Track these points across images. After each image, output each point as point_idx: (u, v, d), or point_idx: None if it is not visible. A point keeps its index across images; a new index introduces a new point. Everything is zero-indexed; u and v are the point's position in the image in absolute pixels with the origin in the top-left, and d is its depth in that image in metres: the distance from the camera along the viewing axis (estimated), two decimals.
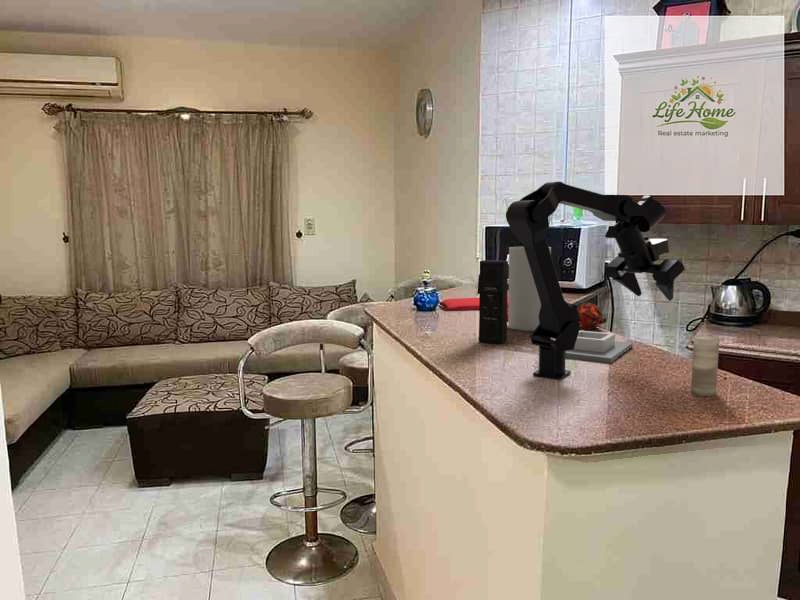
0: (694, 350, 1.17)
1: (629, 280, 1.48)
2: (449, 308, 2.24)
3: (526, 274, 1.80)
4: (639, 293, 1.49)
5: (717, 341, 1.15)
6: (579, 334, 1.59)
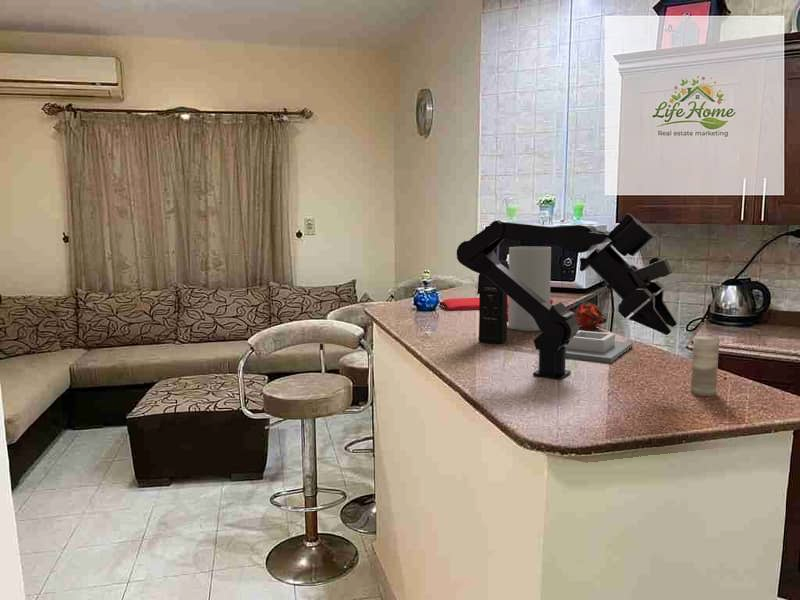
0: (694, 350, 1.17)
1: None
2: (449, 308, 2.24)
3: (526, 274, 1.80)
4: (672, 323, 1.24)
5: (717, 341, 1.15)
6: (579, 334, 1.59)
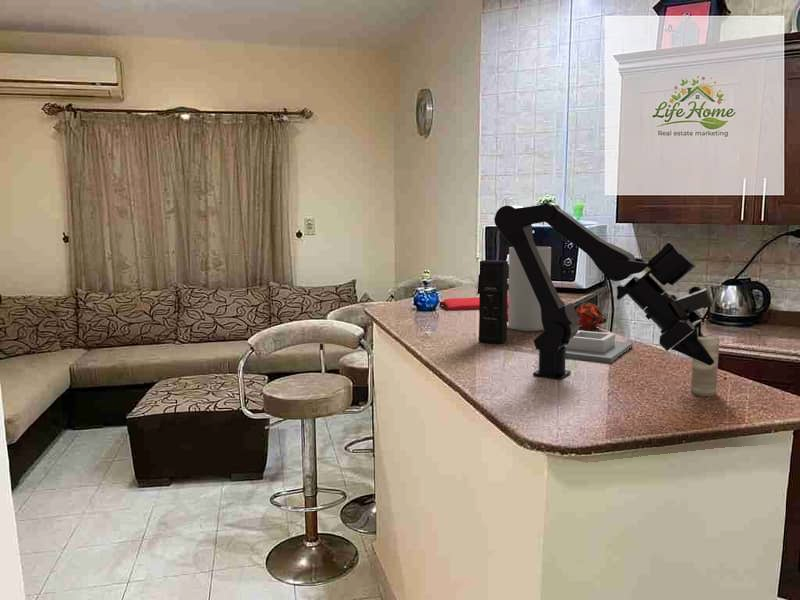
0: None
1: None
2: (449, 308, 2.25)
3: None
4: None
5: (717, 341, 1.15)
6: (579, 334, 1.59)
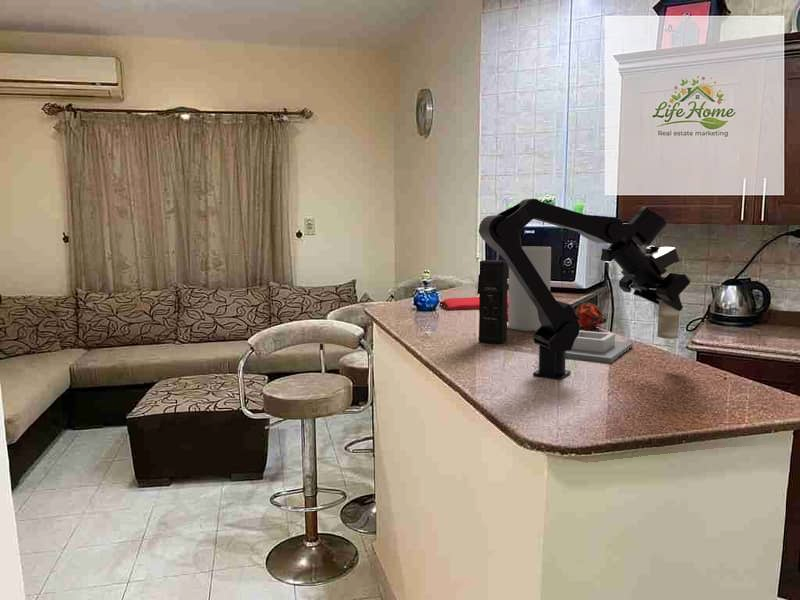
0: None
1: (651, 294, 1.40)
2: (449, 307, 2.25)
3: None
4: None
5: None
6: (579, 334, 1.59)
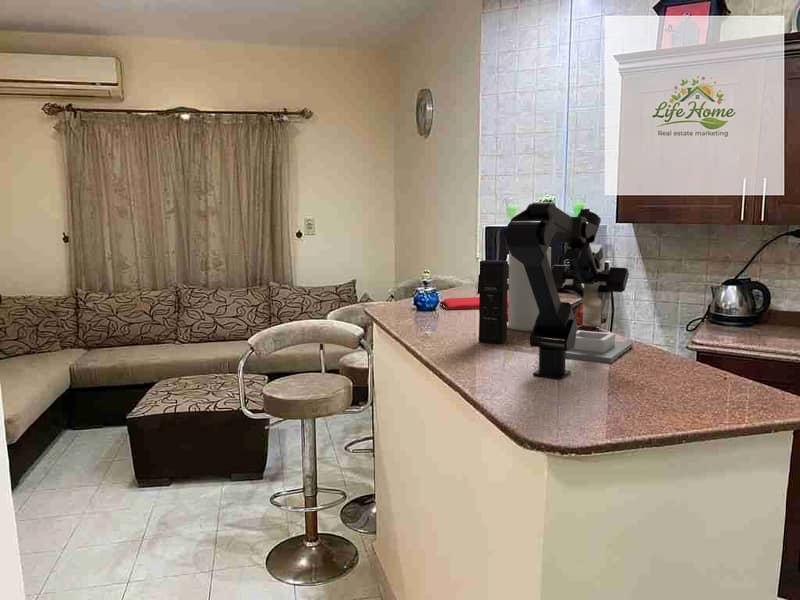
0: (594, 292, 1.52)
1: (578, 288, 1.53)
2: (449, 307, 2.26)
3: (526, 274, 1.80)
4: None
5: None
6: (579, 334, 1.59)
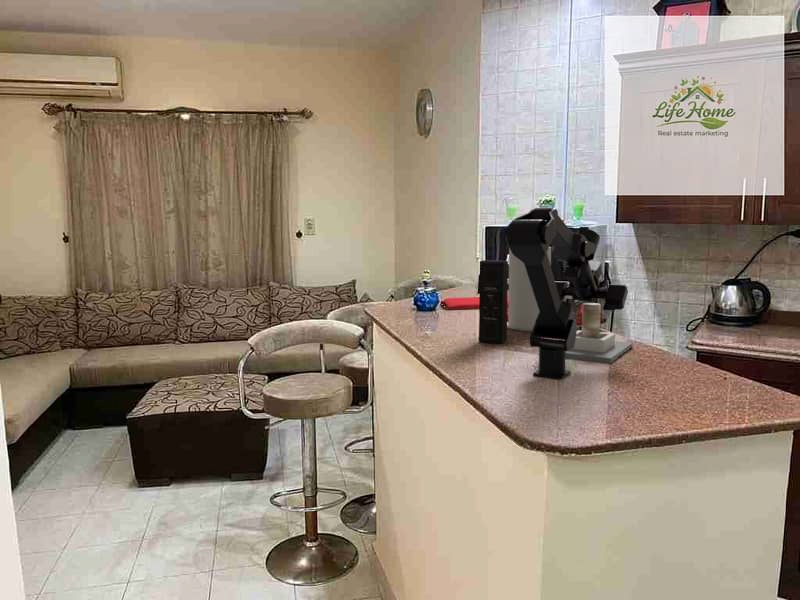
0: (593, 315, 1.52)
1: (571, 304, 1.54)
2: (449, 307, 2.26)
3: (526, 274, 1.80)
4: (577, 312, 1.57)
5: None
6: (579, 334, 1.59)
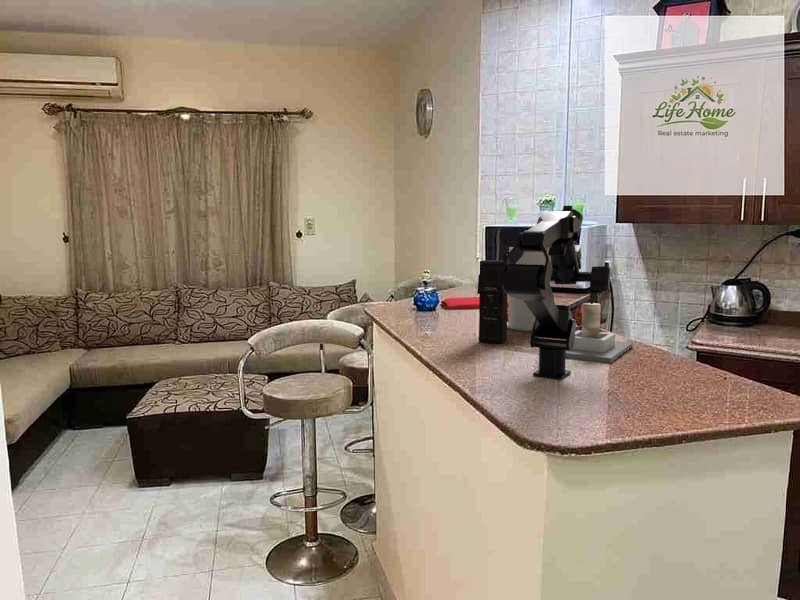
0: (593, 314, 1.52)
1: (548, 290, 1.46)
2: (449, 307, 2.27)
3: None
4: (553, 300, 1.50)
5: None
6: (579, 334, 1.59)
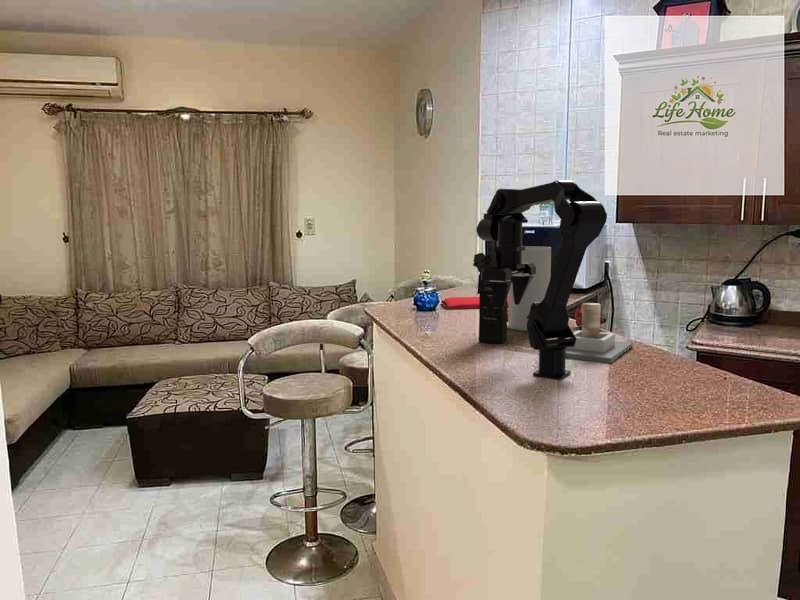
0: (593, 314, 1.52)
1: None
2: (449, 306, 2.27)
3: None
4: None
5: None
6: (579, 334, 1.59)
